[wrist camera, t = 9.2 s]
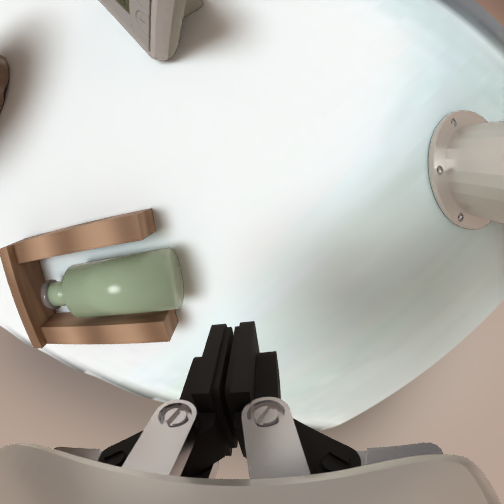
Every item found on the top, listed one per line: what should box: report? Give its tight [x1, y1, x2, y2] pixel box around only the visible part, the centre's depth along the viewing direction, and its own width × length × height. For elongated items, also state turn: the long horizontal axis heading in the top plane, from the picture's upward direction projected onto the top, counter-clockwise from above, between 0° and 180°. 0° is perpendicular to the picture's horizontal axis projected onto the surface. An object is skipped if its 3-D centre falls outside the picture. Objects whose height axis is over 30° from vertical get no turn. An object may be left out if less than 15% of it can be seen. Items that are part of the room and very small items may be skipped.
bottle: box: [41, 248, 183, 318], centre depth 23 cm, size 5×5×14 cm
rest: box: [0, 209, 178, 348], centre depth 23 cm, size 16×11×4 cm, turn 98°
